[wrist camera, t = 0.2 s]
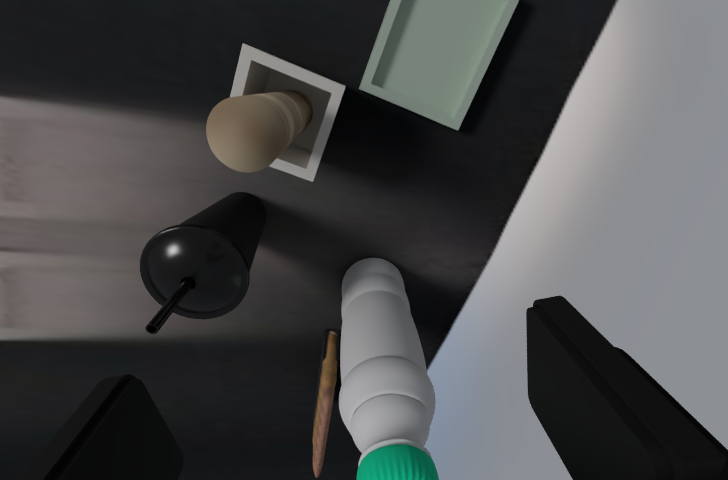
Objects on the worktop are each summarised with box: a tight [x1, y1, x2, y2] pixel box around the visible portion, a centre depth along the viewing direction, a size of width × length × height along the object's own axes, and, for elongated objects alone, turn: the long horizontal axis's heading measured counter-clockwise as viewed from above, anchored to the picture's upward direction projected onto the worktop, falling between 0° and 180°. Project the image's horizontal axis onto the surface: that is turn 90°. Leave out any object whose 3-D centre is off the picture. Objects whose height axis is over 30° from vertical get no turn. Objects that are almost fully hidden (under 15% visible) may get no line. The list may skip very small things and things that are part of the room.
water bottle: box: [339, 258, 439, 480], centre depth 32 cm, size 7×7×25 cm
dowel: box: [206, 90, 313, 173], centre depth 26 cm, size 4×4×18 cm
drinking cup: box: [140, 192, 266, 334], centre depth 30 cm, size 8×8×20 cm
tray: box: [359, 0, 519, 130], centre depth 33 cm, size 12×10×2 cm
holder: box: [230, 44, 346, 182], centre depth 32 cm, size 8×8×8 cm
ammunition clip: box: [313, 329, 340, 478], centre depth 42 cm, size 11×2×12 cm, turn 171°
